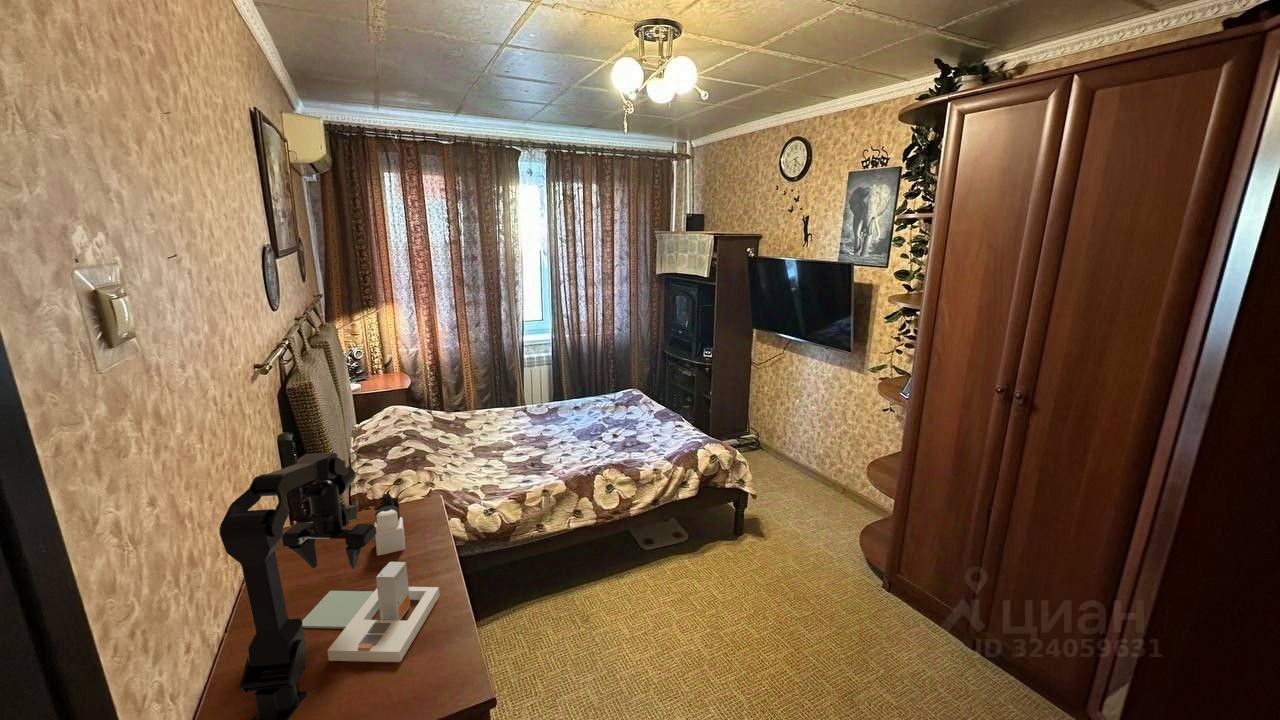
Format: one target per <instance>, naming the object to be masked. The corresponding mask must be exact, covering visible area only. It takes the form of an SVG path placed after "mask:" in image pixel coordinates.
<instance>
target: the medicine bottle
mask: <svg viewBox="0 0 1280 720" xmlns="http://www.w3.org/2000/svg"><path fill="white" fill-rule="evenodd" d="M374 515H375V522H374V525H375V527H376V533H377V534H376V535H375V536H374V537H373V538H374V542H375V543H374V544H375V551H376V556H382V555H387V554H390V553H396V552H400V551H405V549H406V538H405V528H404V521H403V520H404V518H403V517H402V516H401V515H400V507H399V508H398V507H396V506H385V507H382V508H380V509H379V510H375V513H374ZM400 516H401V517H400Z"/></svg>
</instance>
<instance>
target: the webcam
mask: <svg viewBox="0 0 1280 720" xmlns="http://www.w3.org/2000/svg"><path fill="white" fill-rule="evenodd" d="M385 506H396V507H398V508H399V509H400V503H399V498H398V497H397V496H396V497H393V496H392V495H391V494H390V493H388V492H387V493H384V494H382V496H381V504H380V505H379V506H377V507H374V511H377V510H379V509H380V508H382V507H385ZM400 517H402V516H401V515H400Z"/></svg>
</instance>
